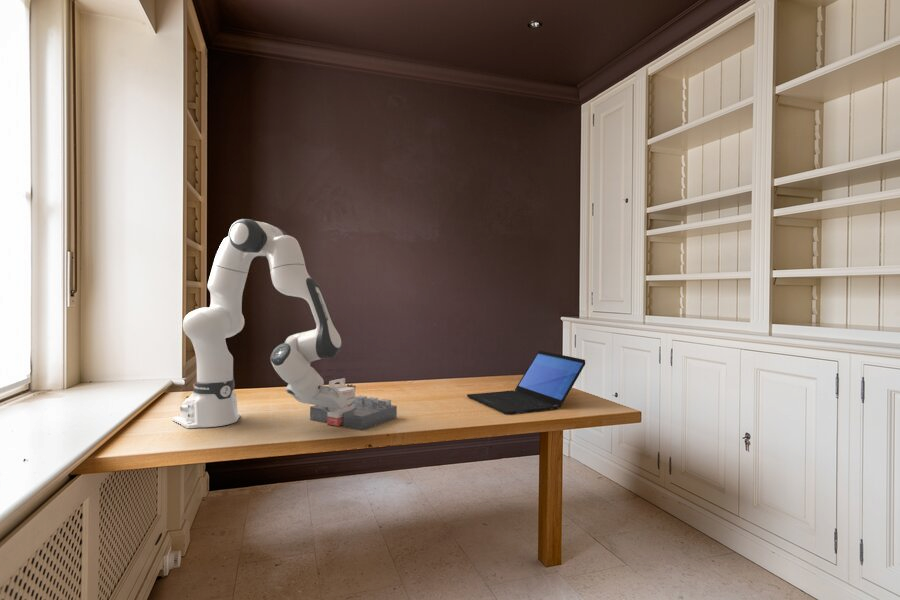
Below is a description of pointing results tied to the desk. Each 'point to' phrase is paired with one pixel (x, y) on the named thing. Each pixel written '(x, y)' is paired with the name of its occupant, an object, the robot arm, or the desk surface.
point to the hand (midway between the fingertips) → (331, 410)
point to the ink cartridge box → (349, 393)
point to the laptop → (537, 385)
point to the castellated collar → (361, 413)
